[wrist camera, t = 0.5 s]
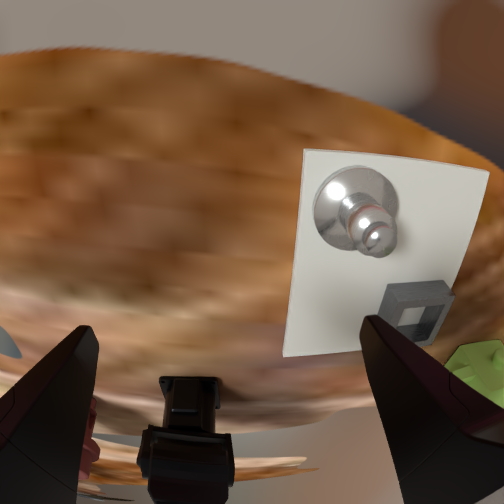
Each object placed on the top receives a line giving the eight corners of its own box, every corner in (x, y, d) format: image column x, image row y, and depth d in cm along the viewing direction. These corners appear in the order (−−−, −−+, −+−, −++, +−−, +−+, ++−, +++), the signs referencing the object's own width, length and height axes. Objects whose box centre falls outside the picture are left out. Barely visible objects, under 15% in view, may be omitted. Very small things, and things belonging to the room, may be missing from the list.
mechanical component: (32, 371, 32) (92, 379, 32) (63, 410, 37) (119, 418, 38) (3, 447, 22) (69, 467, 22) (45, 478, 27) (106, 493, 27)
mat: (424, 336, 32) (426, 340, 31) (282, 352, 31) (283, 356, 30) (485, 170, 21) (489, 172, 21) (303, 148, 20) (305, 150, 20)
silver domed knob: (383, 244, 24) (411, 284, 20) (307, 245, 24) (324, 289, 19) (399, 168, 21) (437, 197, 16) (316, 162, 20) (340, 191, 16)
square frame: (421, 328, 30) (431, 344, 28) (369, 335, 30) (377, 353, 28) (443, 279, 27) (455, 295, 25) (387, 283, 26) (398, 301, 24)
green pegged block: (517, 327, 36) (547, 366, 27) (487, 370, 40) (511, 409, 32) (449, 335, 33) (485, 390, 25) (415, 386, 38) (440, 438, 29)
